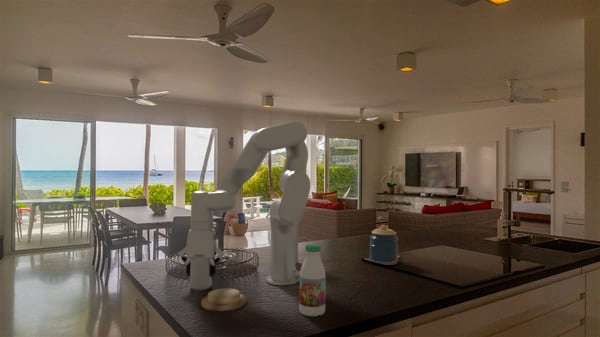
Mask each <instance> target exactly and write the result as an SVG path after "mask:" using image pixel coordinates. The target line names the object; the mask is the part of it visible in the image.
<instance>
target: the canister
mask: <svg viewBox="0 0 600 337" xmlns="http://www.w3.org/2000/svg"><path fill="white" fill-rule="evenodd" d="M371 233H372V234H371V235H370V236H369V239H370V241H369V242H370V243H369V259H371V260H374V261H379V262H392V261H395V260H396V257H397V256H398V257H399V253H398V251H399V245H398V240H399V237H398V236H397V232H396V231H394V230H393V229H390V228H387V225H386V224H382V225H381V226H380V228H375V229H373V230H372V231H371Z"/></svg>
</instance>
